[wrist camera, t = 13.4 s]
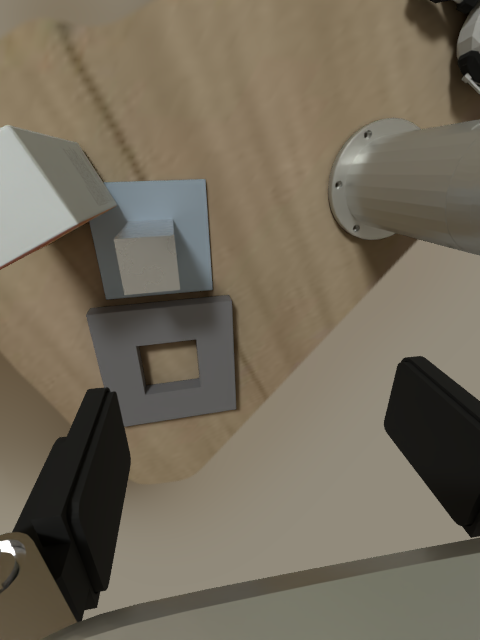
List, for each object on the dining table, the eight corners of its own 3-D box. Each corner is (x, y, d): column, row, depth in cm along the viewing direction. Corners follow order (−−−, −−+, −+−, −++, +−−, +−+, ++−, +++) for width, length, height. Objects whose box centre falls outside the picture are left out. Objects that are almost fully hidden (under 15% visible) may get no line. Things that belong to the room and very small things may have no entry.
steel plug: (172, 218, 34) (173, 235, 25) (177, 260, 36) (180, 289, 27) (128, 221, 33) (113, 239, 24) (135, 264, 35) (124, 295, 26)
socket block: (229, 295, 39) (231, 300, 37) (233, 399, 46) (236, 409, 44) (90, 308, 36) (86, 315, 35) (116, 417, 43) (114, 428, 41)
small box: (52, 243, 33) (-25, 283, 21) (5, 183, 30) (-114, 190, 18) (120, 205, 32) (80, 224, 20) (79, 140, 29) (4, 119, 18)
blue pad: (204, 179, 33) (205, 179, 33) (212, 288, 38) (212, 289, 38) (81, 183, 31) (81, 183, 31) (106, 298, 36) (106, 299, 36)
